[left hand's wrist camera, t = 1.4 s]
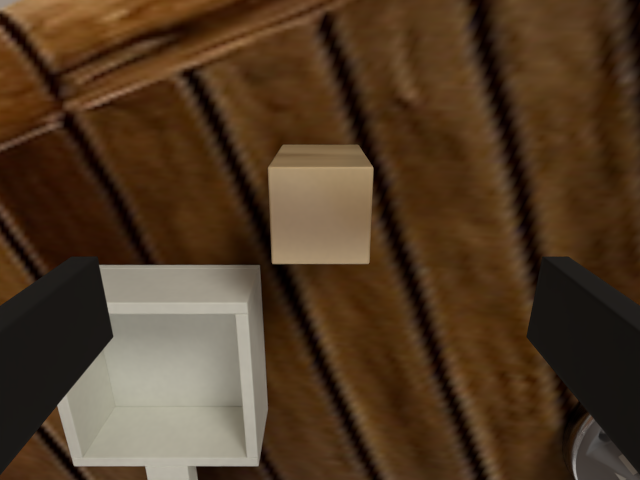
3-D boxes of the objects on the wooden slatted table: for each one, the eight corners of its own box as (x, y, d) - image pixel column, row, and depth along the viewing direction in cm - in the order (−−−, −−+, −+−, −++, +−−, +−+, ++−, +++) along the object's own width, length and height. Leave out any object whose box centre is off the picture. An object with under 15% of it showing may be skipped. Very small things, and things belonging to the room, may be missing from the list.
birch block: (356, 218, 29) (369, 264, 21) (284, 218, 29) (271, 264, 21) (358, 144, 27) (373, 166, 20) (281, 144, 27) (267, 167, 20)
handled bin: (273, 515, 39) (255, 690, 28) (134, 515, 39) (58, 690, 28) (260, 264, 30) (224, 372, 19) (79, 264, 30) (-65, 372, 19)
